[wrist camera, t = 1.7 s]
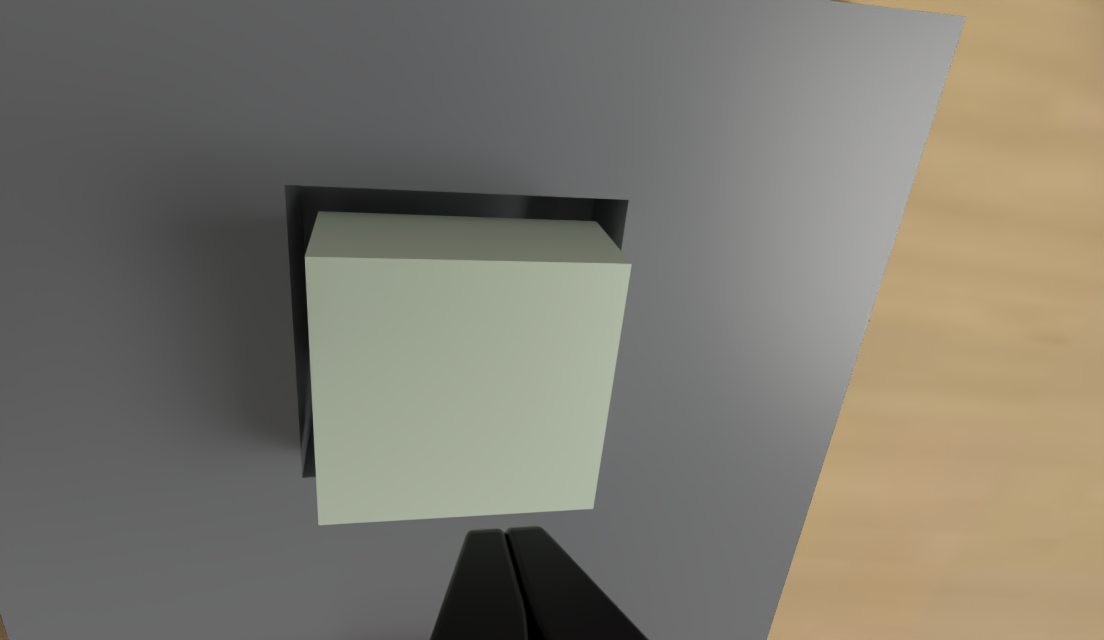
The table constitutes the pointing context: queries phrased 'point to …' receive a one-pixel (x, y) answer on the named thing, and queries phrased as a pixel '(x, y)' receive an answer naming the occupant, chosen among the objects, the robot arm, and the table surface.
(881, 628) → the table surface
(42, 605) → the keypad
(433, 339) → the sage key
